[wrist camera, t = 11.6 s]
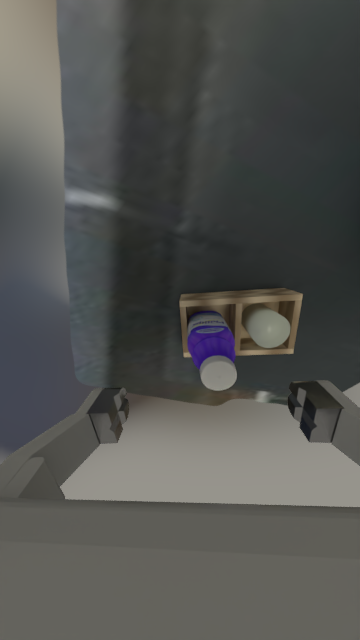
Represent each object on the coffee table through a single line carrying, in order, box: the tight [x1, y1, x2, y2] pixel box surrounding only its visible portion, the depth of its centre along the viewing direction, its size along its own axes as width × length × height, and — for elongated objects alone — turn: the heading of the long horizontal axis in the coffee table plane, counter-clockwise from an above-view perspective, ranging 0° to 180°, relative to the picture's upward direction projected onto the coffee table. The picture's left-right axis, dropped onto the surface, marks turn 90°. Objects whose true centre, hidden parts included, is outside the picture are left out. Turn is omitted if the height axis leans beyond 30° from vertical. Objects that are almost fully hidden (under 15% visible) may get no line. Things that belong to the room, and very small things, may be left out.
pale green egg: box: [241, 303, 290, 348], centre depth 31 cm, size 6×6×7 cm
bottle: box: [187, 311, 237, 391], centre depth 27 cm, size 7×6×17 cm
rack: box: [179, 288, 303, 357], centre depth 33 cm, size 20×11×6 cm, turn 94°
